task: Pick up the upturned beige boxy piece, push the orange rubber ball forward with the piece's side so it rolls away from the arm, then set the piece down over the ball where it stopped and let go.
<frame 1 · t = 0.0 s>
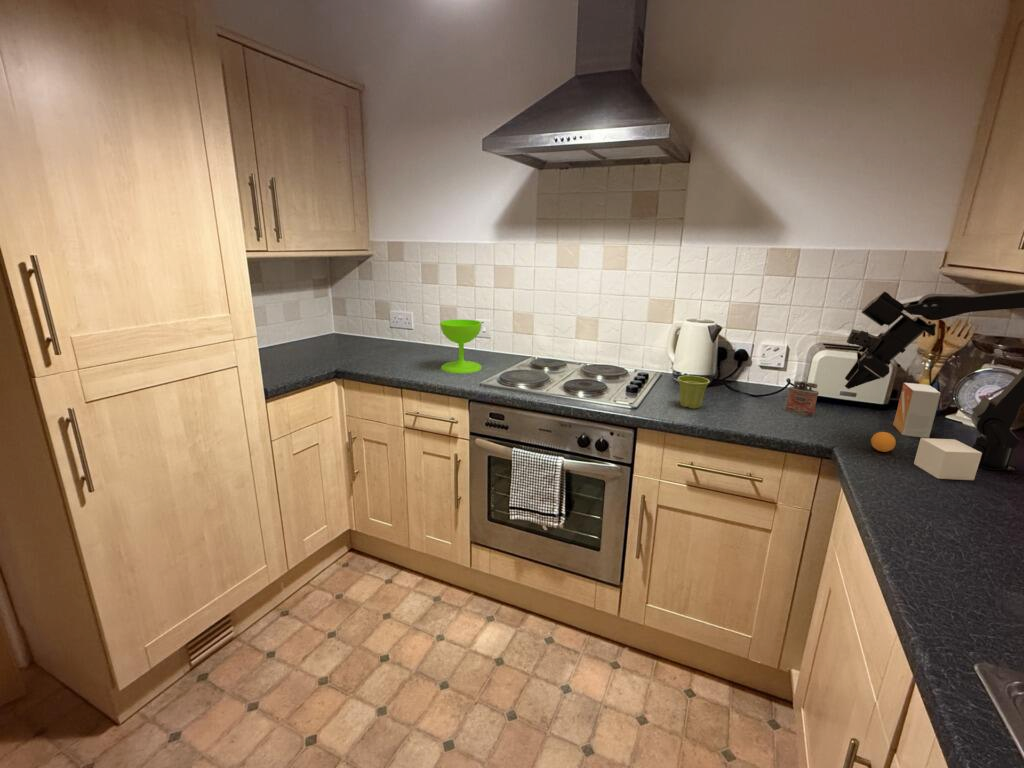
hand: (846, 383, 132), 15 cm above the table, tool tilted 35°, fingers open, 9 cm apart
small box: (910, 432, 141), on the table
wineglass: (461, 368, 199), on the table
beige boxy piece: (942, 471, 116), on the table
plant pot: (690, 406, 159), on the table
ball: (883, 441, 127), on the table
lighter: (799, 413, 155), on the table
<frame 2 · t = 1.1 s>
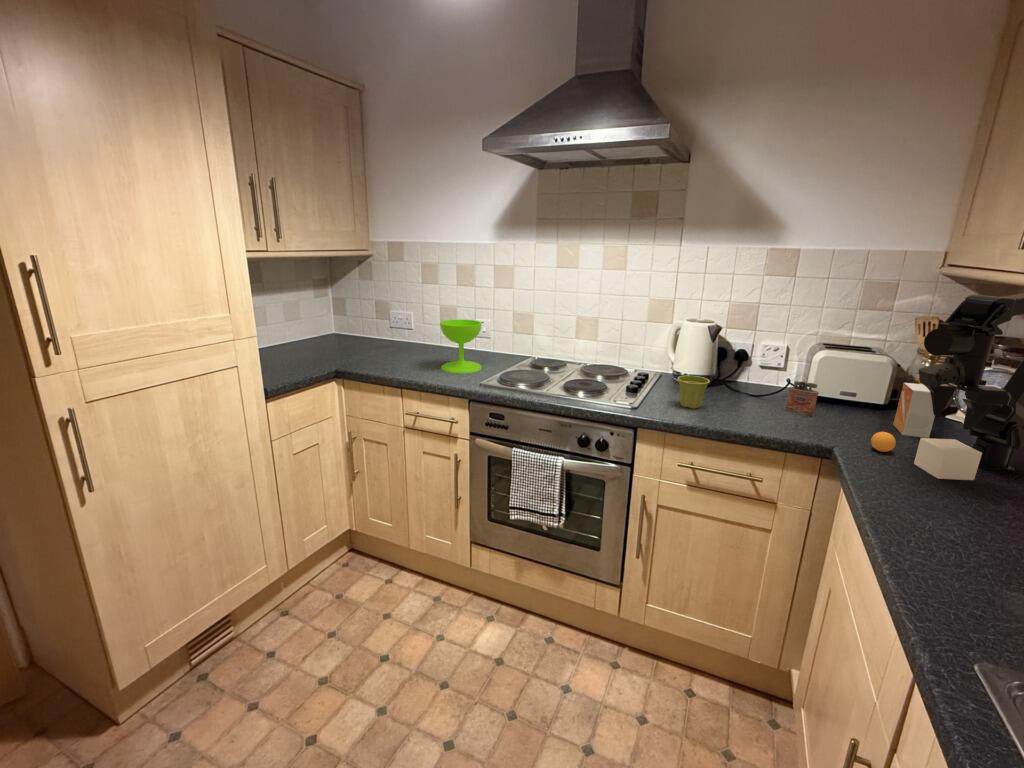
hand: (950, 422, 113), 12 cm above the table, tool pointing down, fingers open, 9 cm apart
nothing on the table moved.
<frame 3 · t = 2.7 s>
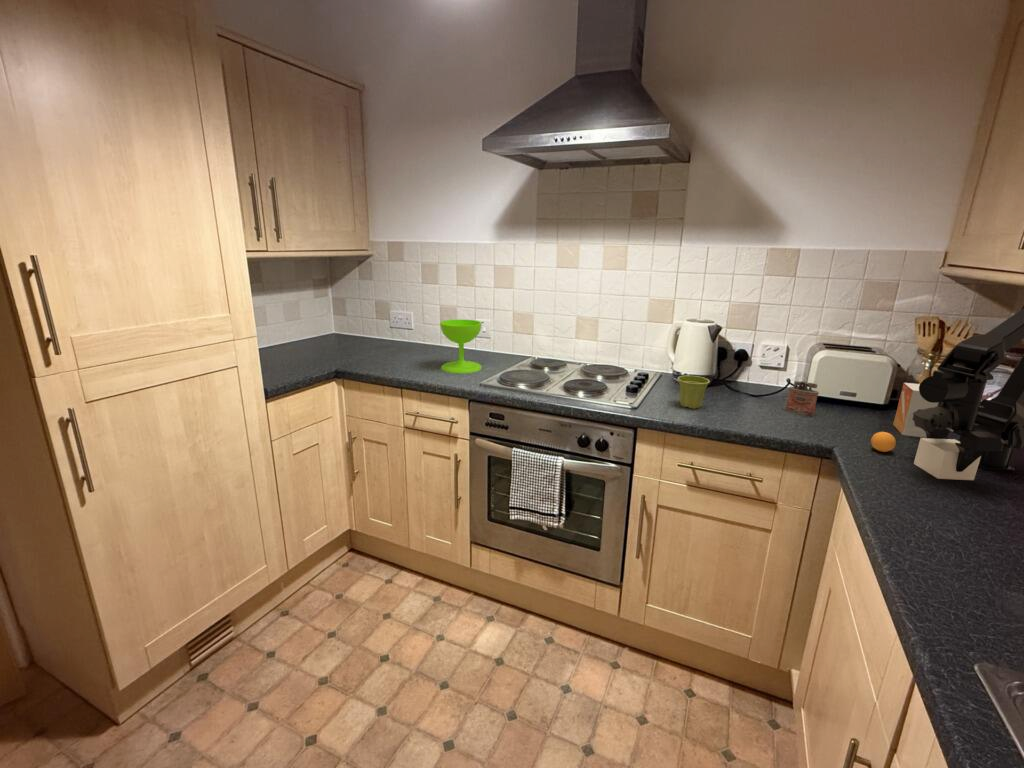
hand: (945, 463, 116), 2 cm above the table, tool pointing down, fingers closed on beige boxy piece, 8 cm apart
beige boxy piece: (942, 471, 116), on the table, touching gripper
everything else where it was.
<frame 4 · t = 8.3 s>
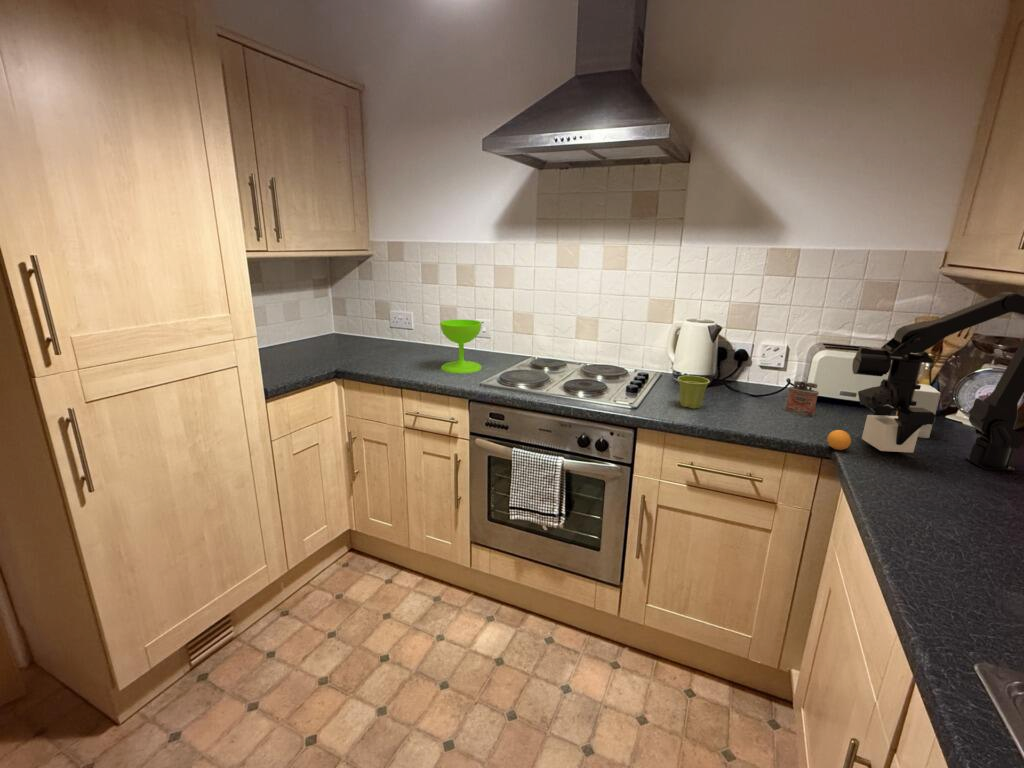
hand: (887, 438, 126), 3 cm above the table, tool pointing down, fingers closed on beige boxy piece, 8 cm apart
beige boxy piece: (886, 445, 127), point 2 cm above the table, touching gripper
ball: (839, 439, 127), on the table
everything else where it was.
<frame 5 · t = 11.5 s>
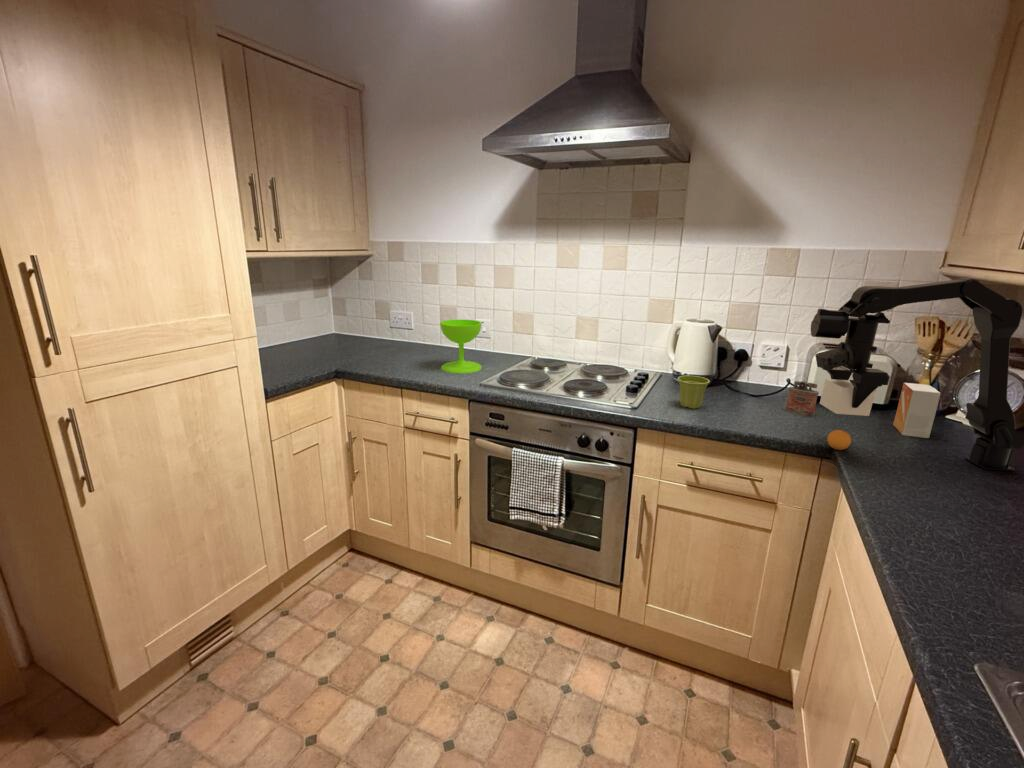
hand: (844, 402, 124), 12 cm above the table, tool pointing down, fingers closed on beige boxy piece, 8 cm apart
beige boxy piece: (843, 409, 125), point 11 cm above the table, touching gripper
everything else where it was.
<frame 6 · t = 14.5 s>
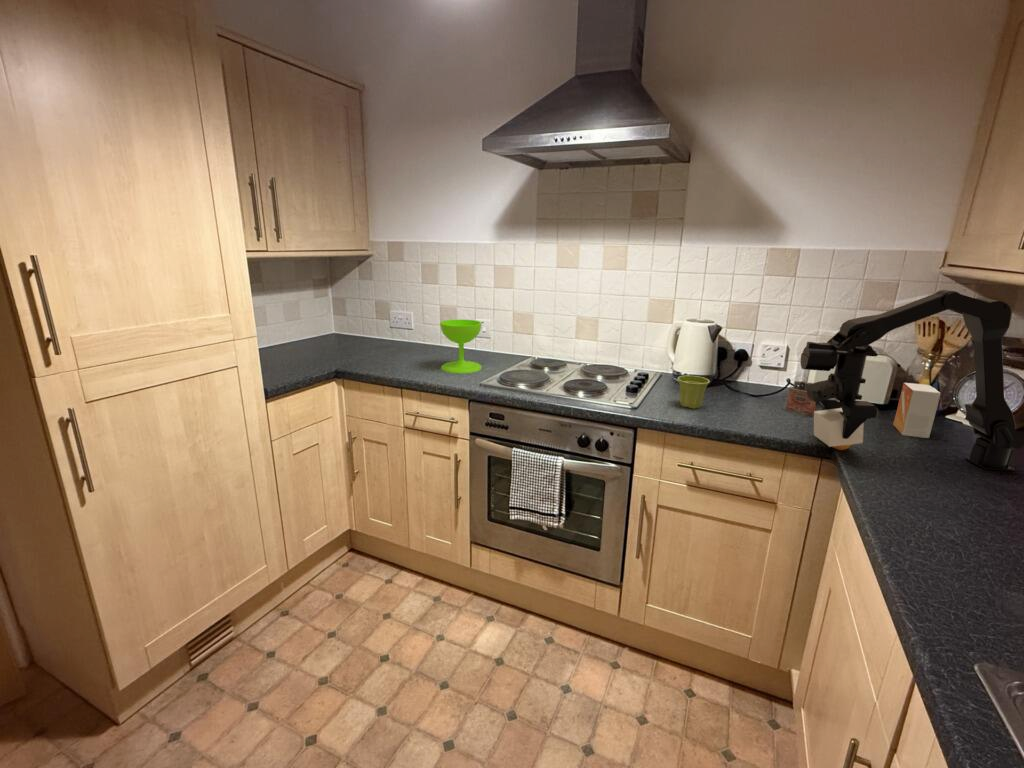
hand: (835, 432, 127), 5 cm above the table, tool pointing down, fingers closed on beige boxy piece, 8 cm apart
beige boxy piece: (837, 438, 127), point 3 cm above the table, tilted 10°, touching ball, gripper
ball: (840, 439, 127), on the table, touching beige boxy piece
everything else where it was.
when the fingers open (3 cm above the table, at t = 15.5 s): beige boxy piece drops 1 cm, on the table.
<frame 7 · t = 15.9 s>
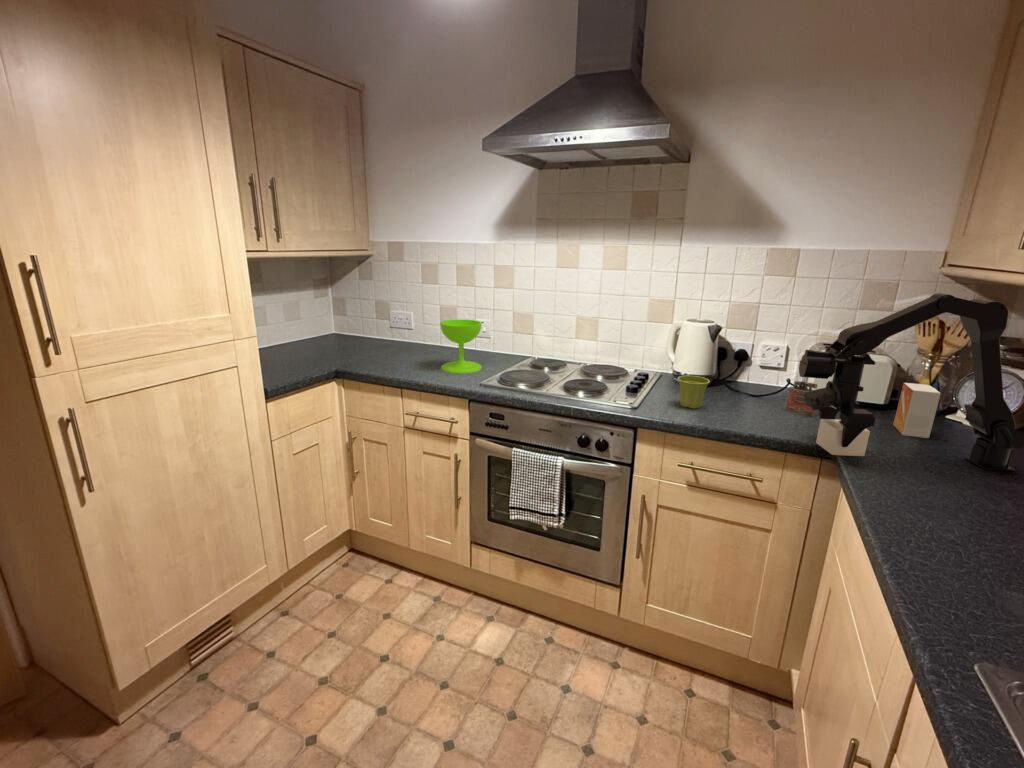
hand: (833, 439, 127), 3 cm above the table, tool pointing down, fingers open, 9 cm apart
beige boxy piece: (839, 449, 128), on the table
ball: (841, 439, 127), on the table
everything else where it was.
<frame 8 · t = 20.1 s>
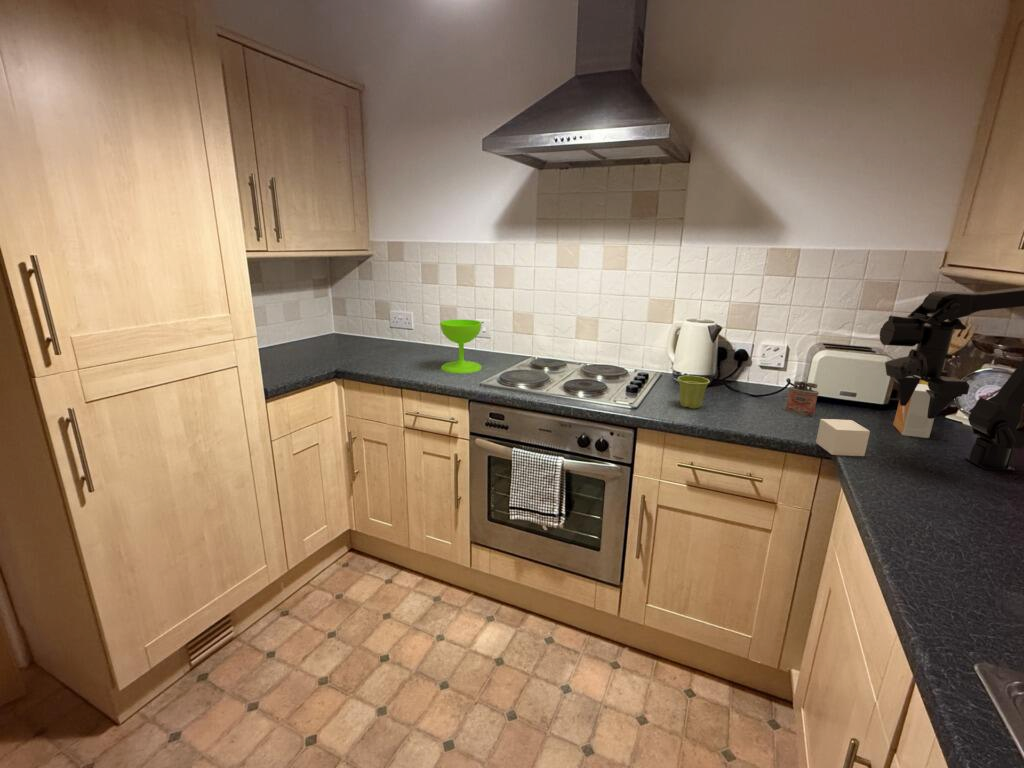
hand: (916, 411, 120), 12 cm above the table, tool pointing down, fingers open, 9 cm apart
nothing on the table moved.
at the end: ball 0.1 cm from the beige boxy piece (horizontally); beige boxy piece on the table; ball moved 10.1 cm from its start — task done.
